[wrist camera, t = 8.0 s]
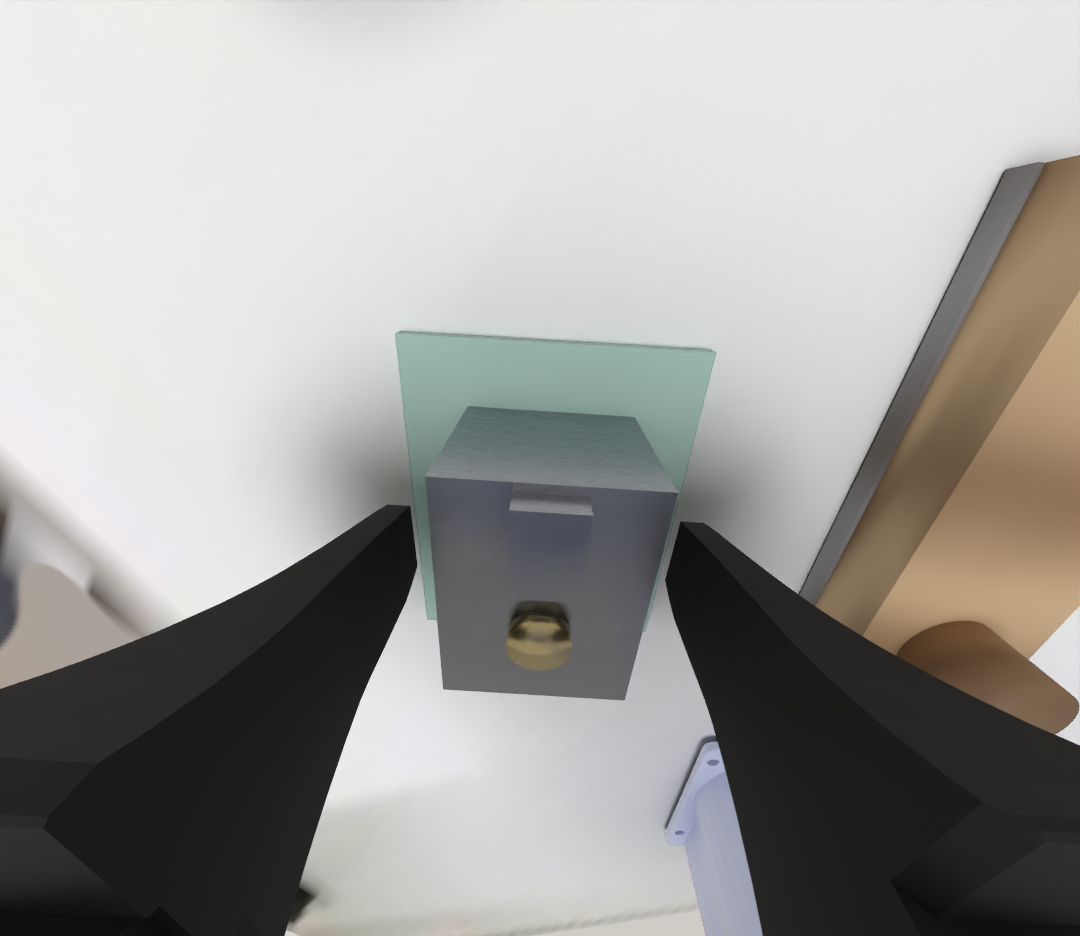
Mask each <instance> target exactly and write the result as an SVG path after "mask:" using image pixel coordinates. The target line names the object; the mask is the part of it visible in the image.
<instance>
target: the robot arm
mask: <svg viewBox="0 0 1080 936" xmlns="http://www.w3.org/2000/svg"><path fill="white" fill-rule="evenodd" d="M416 569H417V559H416V551H415V542H414V534H413V526H412V517H411V509H410V506H401V505H386V506H384V507H383V508H381V509H379V510H378V511H376V512H375V513H373V514H372V515H370V516H368V517H367V518H365V519H364V520H363V521H361V522H360V523H358V524H357V525H355V526H354V527H352V528H351V529H349V530H348V531H346V532H345V533H343V534H341V535H340V536H338V537H337V538H335V539H334V540H332V541H331V542H329V543H328V544H326V545H325V546H323V547H322V548H320V549H318V550H317V551H315V552H313V553H312V554H310V555H308V556H307V557H305V558H303V559H302V560H300V561H298V562H297V563H295V564H293V565H292V566H290V567H289V568H287V569H285V570H284V571H282V572H280V573H278V574H277V575H275V576H273V577H271V578H269V579H268V580H266V581H264V582H262V583H260V584H258V585H256V586H254V587H252V588H250V589H249V590H247V591H245V592H243V593H241V594H239V595H237V596H235V597H233V598H231V599H229V600H227V601H225V602H223V603H221V604H218V605H216V606H214V607H212V608H209V609H207V610H205V611H203V612H201V613H198V614H196V615H194V616H192V617H189V618H187V619H185V620H183V621H180V622H178V623H176V624H174V625H171V626H169V627H167V628H165V629H162V630H160V631H158V632H155V633H153V634H150V635H148V636H145V637H143V638H140V639H138V640H135V641H133V642H130V643H128V644H126V645H123V646H120V647H118V648H115V649H112V650H110V651H108V652H105V653H102V654H99V655H97V656H94V657H91V658H89V659H86V660H83V661H81V662H78V663H75V664H73V665H69V666H67V667H64V668H61V669H58V670H56V671H53V672H50V673H47V674H44V675H41V676H38V677H35V678H32V679H29V680H26V681H23V682H20V683H17V684H14V685H11V686H8V687H5V688H2V689H0V936H284V935H285V932H286V928H287V925H288V921H289V918H290V915H291V911H292V908H293V904H294V901H295V898H296V894H297V891H298V887H299V884H300V881H301V877H302V874H303V871H304V867H305V864H306V860H307V857H308V854H309V851H310V848H311V844H312V841H313V838H314V835H315V832H316V829H317V826H318V822H319V819H320V816H321V813H322V810H323V807H324V803H325V800H326V797H327V794H328V791H329V788H330V785H331V782H332V779H333V776H334V774H335V771H336V768H337V765H338V762H339V759H340V756H341V753H342V750H343V747H344V744H345V741H346V739H347V736H348V733H349V730H350V728H351V725H352V722H353V719H354V717H355V714H356V711H357V708H358V705H359V703H360V700H361V698H362V695H363V693H364V691H365V688H366V686H367V684H368V681H369V679H370V677H371V675H372V673H373V671H374V668H375V666H376V664H377V662H378V660H379V658H380V656H381V654H382V652H383V649H384V647H385V645H386V643H387V641H388V639H389V637H390V635H391V632H392V630H393V628H394V626H395V624H396V622H397V620H398V617H399V615H400V613H401V611H402V609H403V607H404V604H405V602H406V600H407V597H408V594H409V591H410V588H411V585H412V582H413V578H414V575H415V572H416ZM665 582H666V587H667V591H668V596H669V600H670V604H671V608H672V612H673V616H674V619H675V622H676V625H677V627H678V630H679V633H680V635H681V638H682V641H683V644H684V646H685V649H686V651H687V654H688V657H689V659H690V662H691V665H692V667H693V670H694V673H695V675H696V678H697V680H698V683H699V686H700V688H701V691H702V694H703V696H704V699H705V702H706V705H707V708H708V711H709V714H710V717H711V720H712V723H713V727H714V731H715V734H716V738H717V742H716V741H714V742H708V743H706V744H705V745H704V746H703V747H702V749H701V752H700V754H699V756H698V758H697V761H696V763H695V765H694V768H693V770H692V772H691V774H690V777H689V779H688V781H687V783H686V786H685V788H684V790H683V793H682V795H681V797H680V799H679V802H678V804H677V806H676V809H675V811H674V813H673V815H672V818H671V820H670V822H669V825H668V827H667V829H666V831H665V836H666V841H667V842H668V843H669V844H673V845H685V850H686V854H687V858H688V862H689V867H690V871H691V875H692V880H693V884H694V888H695V892H696V897H697V901H698V905H699V910H700V914H701V918H702V922H703V927H704V931H705V935H706V936H1080V746H1079V745H1077V744H1075V743H1073V742H1070V741H1068V740H1066V739H1063V738H1061V737H1059V736H1057V735H1054V734H1052V733H1050V732H1047V731H1045V730H1043V729H1041V728H1038V727H1036V726H1034V725H1032V724H1030V723H1027V722H1025V721H1023V720H1021V719H1019V718H1017V717H1015V716H1013V715H1011V714H1009V713H1007V712H1004V711H1002V710H1000V709H998V708H996V707H994V706H992V705H990V704H988V703H986V702H984V701H982V700H980V699H978V698H975V697H973V696H971V695H969V694H967V693H965V692H963V691H961V690H959V689H957V688H956V687H954V686H952V685H950V684H948V683H946V682H944V681H942V680H940V679H938V678H936V677H934V676H932V675H930V674H929V673H927V672H925V671H923V670H921V669H919V668H918V667H916V666H914V665H912V664H910V663H908V662H907V661H905V660H903V659H901V658H899V657H897V656H896V655H894V654H892V653H890V652H888V651H887V650H885V649H883V648H881V647H880V646H878V645H876V644H875V643H873V642H871V641H869V640H868V639H866V638H864V637H863V636H861V635H860V634H858V633H856V632H855V631H853V630H852V629H850V628H848V627H847V626H845V625H843V624H842V623H840V622H839V621H837V620H835V619H834V618H832V617H831V616H829V615H828V614H826V613H825V612H823V611H822V610H820V609H819V608H817V607H816V606H814V605H813V604H811V603H810V602H808V601H807V600H806V599H804V598H803V597H801V596H800V595H798V594H797V593H796V592H794V591H793V590H791V589H790V588H788V587H787V586H786V585H784V584H783V583H782V582H780V581H779V580H778V579H776V578H775V577H774V576H772V575H771V574H770V573H768V572H767V571H766V570H764V569H763V568H762V567H760V566H759V565H758V564H757V563H755V562H754V561H753V560H751V559H750V558H749V557H748V556H746V555H745V554H744V553H743V552H741V551H740V550H739V549H737V548H736V547H735V546H734V545H732V544H731V543H730V542H729V541H727V540H726V539H725V538H723V537H722V536H721V535H720V534H718V533H717V532H716V531H714V530H713V529H712V528H710V527H709V526H707V525H706V524H704V523H694V522H680V526H679V530H678V534H677V538H676V541H675V545H674V549H673V553H672V556H671V560H670V564H669V568H668V571H667V575H666V579H665Z"/></svg>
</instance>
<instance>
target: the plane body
mask: <svg viewBox="0 0 1080 936" xmlns="http://www.w3.org/2000/svg"><path fill="white" fill-rule="evenodd" d="M799 595H800V596H801V597H803V598H804V599H806V600H807V601H808V602H810V603H811V604H813V605H814V606H816V607H817V608H819V609H820V610H822V611H823V612H825V613H826V614H828V615H829V616H831V617H832V618H834V619H835V620H837V621H839V622H840V623H842V624H843V625H845V626H847V627H848V628H850V629H852V630H853V631H855V632H856V633H858V634H860V635H861V636H863V637H864V638H866V639H868V640H869V641H871V642H873V643H875V644H876V645H878V646H880V647H881V648H883V649H885V650H887V651H888V652H890V653H892V654H894V655H896V656H897V657H899V658H901V659H903V660H905V661H907V662H908V663H910V664H912V665H914V666H916V667H918V668H919V669H921V670H923V671H925V672H927V673H929V674H930V675H932V676H934V677H936V678H938V679H940V680H942V681H944V682H946V683H948V684H950V685H952V686H954V687H956V688H957V689H959V690H961V691H963V692H965V693H967V694H969V695H971V696H973V697H975V698H978V699H980V700H982V701H984V702H986V703H988V704H990V705H992V706H994V707H996V708H998V709H1000V710H1002V711H1004V712H1007V713H1009V714H1011V715H1013V716H1015V717H1017V718H1019V719H1021V720H1023V721H1025V722H1027V723H1030V724H1032V725H1034V726H1036V727H1038V728H1041V729H1043V730H1045V731H1047V732H1050V733H1052V734H1054V735H1055V734H1057V733H1058V732H1060V731H1061V730H1063V729H1064V728H1065V727H1067V726H1068V725H1069V724H1070V723H1071V722H1072V721H1073V720H1074V719H1075V717H1076V716H1077V714H1078V711H1079V703H1078V701H1077V699H1076V698H1075V697H1074V696H1072V695H1071V694H1070V693H1069V692H1067V691H1066V690H1065V689H1064V688H1063V687H1061V686H1060V685H1059V684H1058V683H1056V682H1055V681H1054V680H1053V679H1051V678H1050V677H1049V676H1048V675H1047V674H1045V673H1044V672H1043V671H1042V670H1040V669H1039V668H1038V667H1037V666H1035V665H1034V664H1033V663H1032V662H1031V661H1029V660H1028V659H1029V658H1030V657H1031V656H1032V655H1033V654H1034V653H1035V652H1036V651H1037V650H1038V649H1039V648H1040V647H1041V646H1042V645H1043V644H1044V643H1045V641H1046V640H1047V639H1048V638H1049V637H1050V636H1051V635H1052V634H1053V633H1054V632H1055V631H1056V630H1057V629H1058V628H1059V627H1060V626H1061V625H1062V624H1063V623H1064V621H1065V620H1066V619H1067V618H1068V617H1069V616H1070V615H1071V614H1072V613H1073V612H1074V611H1075V610H1076V609H1077V608H1078V607H1079V606H1080V155H1079V156H1074V157H1070V158H1065V159H1061V160H1056V161H1052V162H1047V163H1042V162H1037V163H1033V164H1028V165H1024V166H1019V167H1015V168H1011V169H1006V171H1005V173H1004V175H1003V177H1002V179H1001V181H1000V183H999V185H998V188H997V190H996V192H995V194H994V196H993V198H992V200H991V202H990V204H989V206H988V208H987V210H986V212H985V214H984V216H983V218H982V220H981V222H980V225H979V227H978V229H977V231H976V233H975V235H974V237H973V239H972V241H971V243H970V245H969V247H968V249H967V251H966V253H965V255H964V257H963V259H962V262H961V264H960V266H959V268H958V270H957V272H956V274H955V276H954V278H953V280H952V282H951V284H950V286H949V288H948V290H947V292H946V294H945V296H944V299H943V301H942V303H941V305H940V307H939V309H938V311H937V313H936V315H935V317H934V319H933V321H932V323H931V325H930V327H929V329H928V331H927V333H926V335H925V338H924V340H923V342H922V344H921V346H920V348H919V350H918V352H917V354H916V356H915V358H914V360H913V362H912V364H911V366H910V368H909V370H908V372H907V375H906V377H905V379H904V381H903V383H902V385H901V387H900V389H899V391H898V393H897V395H896V397H895V399H894V401H893V403H892V405H891V407H890V409H889V412H888V414H887V416H886V418H885V420H884V422H883V424H882V426H881V428H880V430H879V432H878V434H877V436H876V438H875V440H874V442H873V444H872V446H871V449H870V451H869V453H868V455H867V457H866V459H865V461H864V463H863V465H862V467H861V469H860V471H859V473H858V475H857V477H856V479H855V481H854V483H853V486H852V488H851V490H850V492H849V494H848V496H847V498H846V500H845V502H844V504H843V506H842V508H841V510H840V512H839V514H838V516H837V518H836V520H835V523H834V525H833V527H832V529H831V531H830V533H829V535H828V537H827V539H826V541H825V543H824V545H823V547H822V549H821V551H820V553H819V555H818V557H817V560H816V562H815V564H814V566H813V568H812V570H811V572H810V574H809V576H808V578H807V580H806V582H805V584H804V586H803V588H802V590H801V592H800V594H799Z"/></svg>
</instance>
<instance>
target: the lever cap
mask: <svg viewBox="0 0 1080 936" xmlns="http://www.w3.org/2000/svg"><path fill="white" fill-rule="evenodd" d="M425 482H426V494H427V505H428V517H429V529H430V540H431V552H432V563H433V575H434V587H435V598H436V610H437V622H438V633H439V645H440V656H441V668H442V680H443V689H448V690H464V691H481V692H497V693H513V694H530V695H546V696H562V697H579V698H595V699H611V700H625V696H626V692H627V688H628V684H629V680H630V677H631V673H632V669H633V665H634V661H635V657H636V654H637V650H638V646H639V642H640V638H641V634H642V631H643V627H644V623H645V619H646V615H647V611H648V608H649V604H650V600H651V596H652V592H653V588H654V585H655V581H656V577H657V573H658V569H659V565H660V561H661V558H662V554H663V550H664V546H665V542H666V538H667V535H668V531H669V527H670V523H671V519H672V515H673V512H674V508H675V504H676V500H677V496H678V491H677V490H676V488H675V486H674V484H673V483H672V481H671V479H670V477H669V476H668V474H667V472H666V471H665V469H664V467H663V465H662V464H661V462H660V460H659V458H658V457H657V455H656V453H655V452H654V450H653V448H652V446H651V445H650V443H649V441H648V439H647V438H646V436H645V434H644V433H643V431H642V429H641V427H640V426H639V424H638V422H637V420H636V419H635V417H627V416H611V415H596V414H581V413H566V412H550V411H535V410H520V409H505V408H489V407H474V406H468V407H467V409H466V410H465V412H464V414H463V415H462V417H461V418H460V420H459V422H458V423H457V425H456V427H455V428H454V430H453V432H452V433H451V435H450V436H449V438H448V440H447V441H446V443H445V445H444V446H443V448H442V450H441V451H440V453H439V454H438V456H437V458H436V459H435V461H434V463H433V464H432V466H431V467H430V469H429V471H428V472H427V474H426V476H425Z"/></svg>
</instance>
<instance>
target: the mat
mask: <svg viewBox="0 0 1080 936" xmlns="http://www.w3.org/2000/svg"><path fill="white" fill-rule="evenodd" d="M395 337H396V346H397V355H398V363H399V372H400V381H401V390H402V399H403V408H404V417H405V426H406V434H407V443H408V452H409V461H410V470H411V479H412V488H413V497H414V505H415V514H416V523H417V532H418V541H419V550H420V559H421V568H422V576H423V585H424V594H425V603H426V612H427V619H430V620H437V610H436V598H435V587H434V575H433V563H432V552H431V540H430V529H429V517H428V505H427V494H426V482H425V476H426V474H427V472H428V471H429V469H430V467H431V466H432V464H433V463H434V461H435V459H436V458H437V456H438V454H439V453H440V451H441V450H442V448H443V446H444V445H445V443H446V441H447V440H448V438H449V436H450V435H451V433H452V432H453V430H454V428H455V427H456V425H457V423H458V422H459V420H460V418H461V417H462V415H463V414H464V412H465V410H466V409H467V407H468V406H474V407H489V408H505V409H520V410H535V411H550V412H566V413H581V414H596V415H611V416H627V417H635V419H636V420H637V422H638V424H639V426H640V427H641V429H642V431H643V433H644V434H645V436H646V438H647V439H648V441H649V443H650V445H651V446H652V448H653V450H654V452H655V453H656V455H657V457H658V458H659V460H660V462H661V464H662V465H663V467H664V469H665V471H666V472H667V474H668V476H669V477H670V479H671V481H672V483H673V484H674V486H675V488H676V490H677V491H678V496H677V500H676V504H675V508H674V512H673V515H672V519H671V523H670V527H669V531H668V535H667V538H666V542H665V546H664V550H663V554H662V558H661V561H660V565H659V569H658V573H657V577H656V581H655V585H654V588H653V592H652V596H651V600H650V604H649V608H648V611H647V615H646V619H645V623H644V627H643V631H642V632H645V630H646V626H647V622H648V618H649V614H650V611H651V607H652V603H653V599H654V595H655V591H656V587H657V583H658V579H659V575H660V571H661V567H662V563H663V560H664V556H665V552H666V548H667V544H668V540H669V536H670V532H671V528H672V524H673V520H674V516H675V512H676V509H677V505H678V501H679V497H680V493H681V489H682V485H683V481H684V477H685V473H686V469H687V465H688V461H689V458H690V454H691V450H692V446H693V442H694V438H695V434H696V430H697V426H698V422H699V418H700V414H701V411H702V407H703V403H704V399H705V395H706V391H707V387H708V383H709V379H710V375H711V371H712V367H713V363H714V360H715V356H716V352H714V351H712V350H709V349H692V348H675V347H659V346H642V345H625V344H608V343H591V342H574V341H557V340H540V339H524V338H507V337H490V336H473V335H456V334H439V333H422V332H406V331H400V332H397V333H395Z"/></svg>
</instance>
